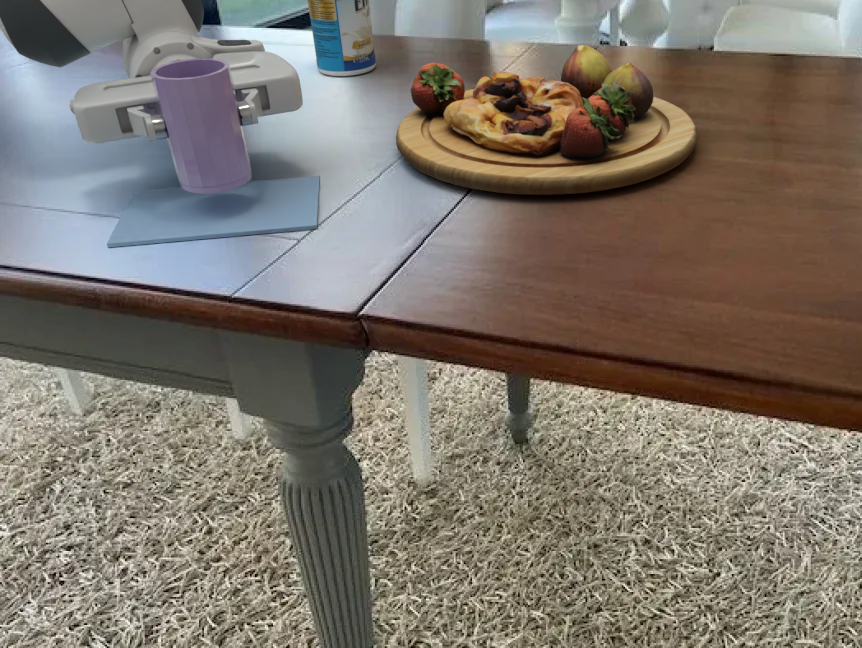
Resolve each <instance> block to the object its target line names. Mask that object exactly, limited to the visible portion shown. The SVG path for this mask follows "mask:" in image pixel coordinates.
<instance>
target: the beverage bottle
mask: <svg viewBox="0 0 862 648" xmlns="http://www.w3.org/2000/svg"><path fill="white" fill-rule="evenodd" d="M307 5H308V12H309V18H310V25H311V31H312V39H313V45H314V52H315V57H316V59H315V60H316V61H315V62H316V69H317V70H318V72H320V74H323V75H325V76H331V77H350V76H351V77H352V76H357V75H362V74H366V73H368V72H371V71H372V70H374V69H375V68H376V65H377V61H376V60H377V59H376V54H375V45H374V37H373V28H372V17H371V16H372V15H371V7H370V0H307Z"/></svg>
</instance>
